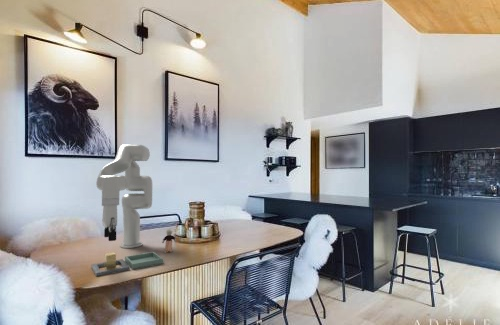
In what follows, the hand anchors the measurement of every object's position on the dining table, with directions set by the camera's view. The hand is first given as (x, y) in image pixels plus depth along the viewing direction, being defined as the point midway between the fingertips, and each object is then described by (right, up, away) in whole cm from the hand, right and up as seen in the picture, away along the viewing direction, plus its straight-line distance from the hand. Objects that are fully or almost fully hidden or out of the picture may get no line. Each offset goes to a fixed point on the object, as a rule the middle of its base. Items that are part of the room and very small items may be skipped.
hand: (110, 238), depth 140 cm
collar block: (0, -14, 0) cm, 14 cm away
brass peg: (0, -14, 0) cm, 14 cm away
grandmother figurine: (+20, -15, +29) cm, 38 cm away
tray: (+12, -14, +9) cm, 21 cm away
